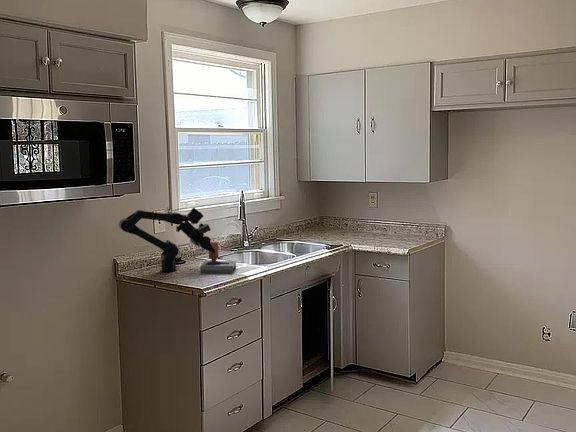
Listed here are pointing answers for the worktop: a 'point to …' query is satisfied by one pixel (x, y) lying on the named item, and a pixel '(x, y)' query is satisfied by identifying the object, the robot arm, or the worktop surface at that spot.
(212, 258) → the peg
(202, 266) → the keyhole plate
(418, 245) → the worktop surface
